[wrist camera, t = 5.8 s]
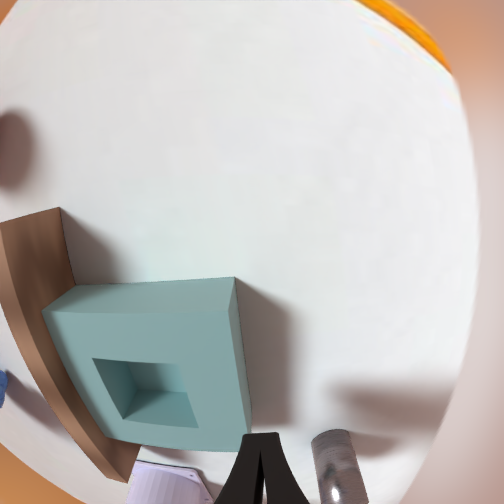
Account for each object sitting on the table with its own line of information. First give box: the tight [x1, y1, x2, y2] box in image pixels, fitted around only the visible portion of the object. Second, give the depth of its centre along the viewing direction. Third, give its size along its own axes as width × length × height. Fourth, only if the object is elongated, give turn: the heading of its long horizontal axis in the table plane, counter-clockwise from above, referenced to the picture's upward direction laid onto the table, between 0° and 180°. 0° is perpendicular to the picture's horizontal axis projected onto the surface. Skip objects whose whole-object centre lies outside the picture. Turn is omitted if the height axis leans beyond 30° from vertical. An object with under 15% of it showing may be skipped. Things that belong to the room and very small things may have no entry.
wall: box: [0, 207, 142, 483], centre depth 13 cm, size 20×2×5 cm, turn 5°
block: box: [41, 277, 252, 452], centre depth 14 cm, size 10×10×4 cm
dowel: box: [311, 429, 369, 504], centre depth 14 cm, size 3×3×7 cm
